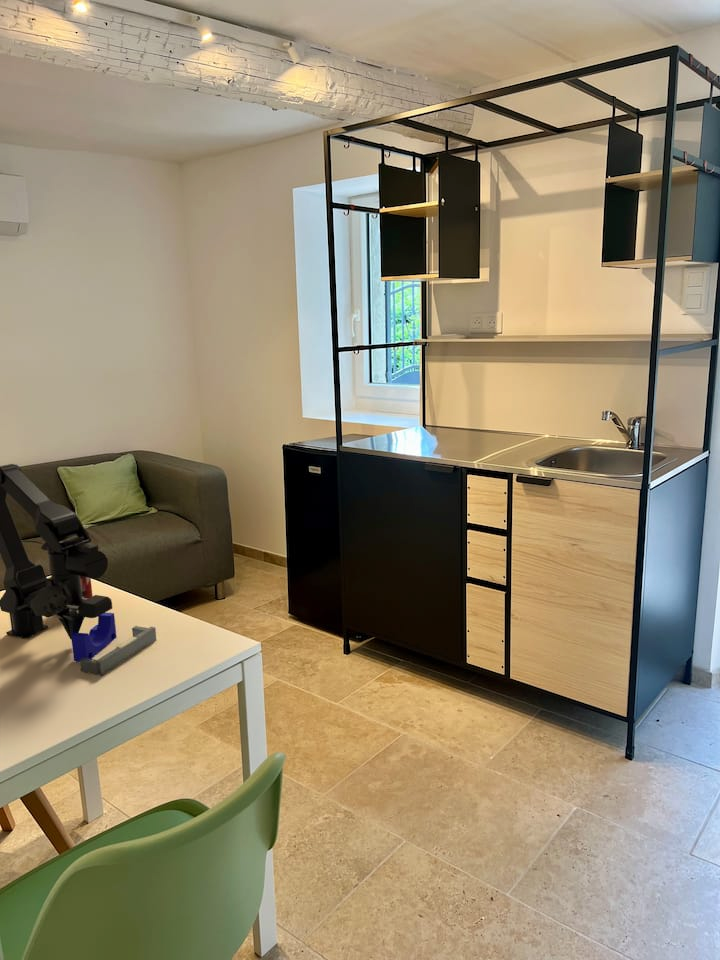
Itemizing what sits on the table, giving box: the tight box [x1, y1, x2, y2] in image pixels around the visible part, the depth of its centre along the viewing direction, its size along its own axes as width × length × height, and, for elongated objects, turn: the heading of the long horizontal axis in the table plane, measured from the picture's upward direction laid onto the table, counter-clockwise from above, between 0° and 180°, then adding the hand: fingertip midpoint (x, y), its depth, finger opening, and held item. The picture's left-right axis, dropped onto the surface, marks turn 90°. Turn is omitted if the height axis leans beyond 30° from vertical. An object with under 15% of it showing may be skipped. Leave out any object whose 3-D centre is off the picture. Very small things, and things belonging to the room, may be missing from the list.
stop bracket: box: [79, 625, 157, 677], centre depth 154 cm, size 5×17×3 cm, turn 158°
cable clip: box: [70, 612, 118, 663], centre depth 157 cm, size 12×4×6 cm, turn 169°
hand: (73, 639), depth 158 cm, fingers closed
